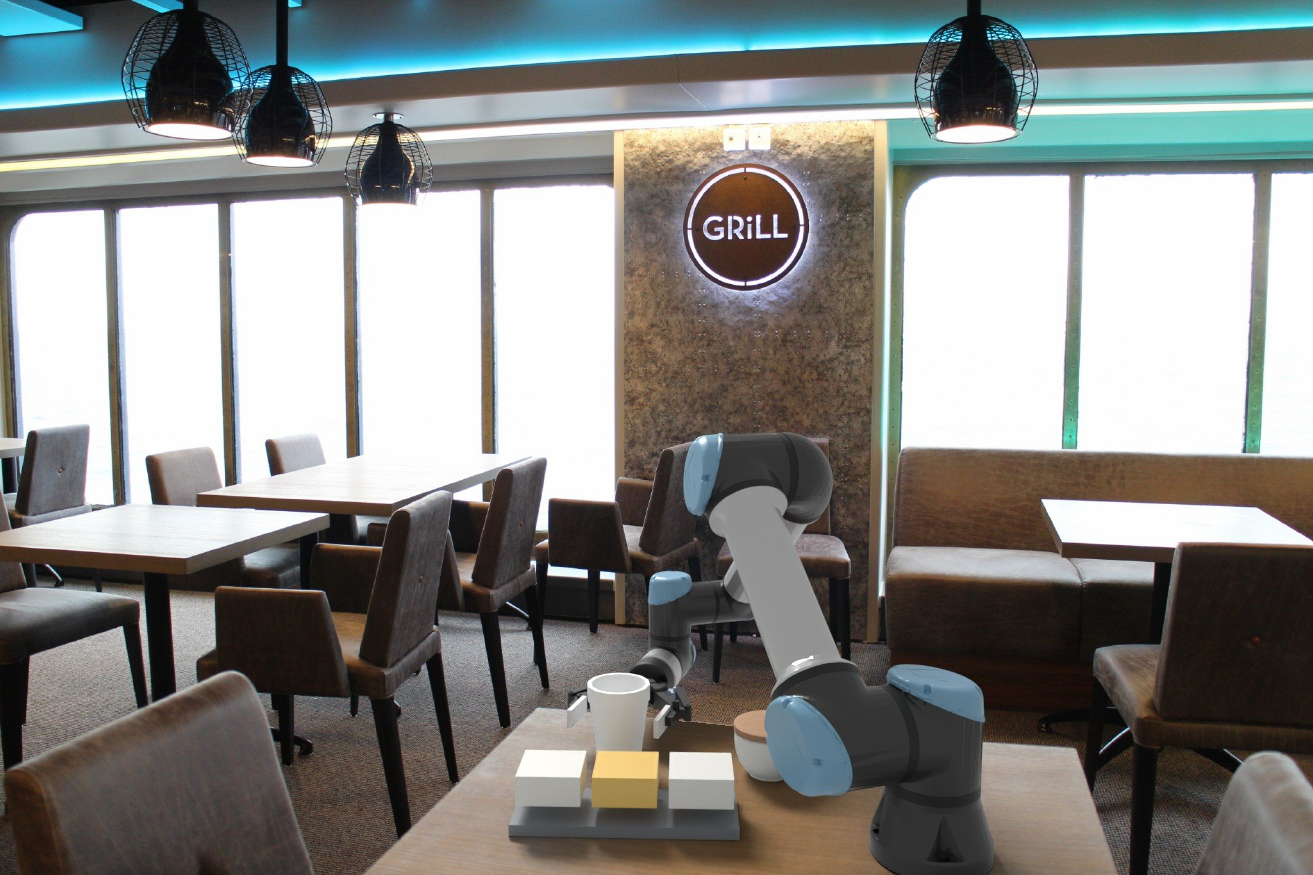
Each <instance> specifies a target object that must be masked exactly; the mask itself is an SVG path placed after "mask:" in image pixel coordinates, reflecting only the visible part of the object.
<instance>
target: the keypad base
mask: <svg viewBox="0 0 1313 875" xmlns="http://www.w3.org/2000/svg"><path fill="white" fill-rule="evenodd" d="M740 830H741V828H740V820H739V811H738V803H737V793H736V790H734V810H727V809H669V789H661V788H660V789H659V788H658V797H657V808H609V807H592V787H591V788H589V787H585V788H584V792H583V797H582V801H581V805H580V807H550V806H515V807H514V810H513V812H512V815H511V818H510V820H509V823H508V837H530V838H531V837H533V838H534V837H539V838H545V837H546V838H586V839H587V838H588V839H589V838H590V839H591V838H595V839H599V838H601V839H603V838H605V839H611V838H612V839H646V840H647V839H648V840H649V839H650V840H657V839H658V840H704V841H705V840H706V841H707V840H709V841H741V840H740V834H741V833H740V832H741V831H740Z"/></svg>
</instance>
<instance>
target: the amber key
mask: <svg viewBox="0 0 1313 875" xmlns="http://www.w3.org/2000/svg"><path fill="white" fill-rule="evenodd" d="M659 753H660V752H659V751H642V752H637V751H597V755H596V756H595V761H594V766H593V771H592V773H591V774H592V775H591V788H592V807H609V808H657V797H658V789H659V781H660V780H659V776H660V775H659V774H660V773H659V772H660V771H659V768H660V767H659V762H660V758H659V757H660V754H659Z"/></svg>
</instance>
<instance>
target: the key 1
mask: <svg viewBox="0 0 1313 875" xmlns="http://www.w3.org/2000/svg"><path fill="white" fill-rule="evenodd" d="M587 752H588V751H587V750H567V749H566V750H560V749H558V750H557V749H552V750H551V749H525V751H524V753H523V755H522V758H521V761H520V763H519V765H518V768H517V771H516V773H515V776H514V785H515V786H514V788H515V790H514V791H515V792H514V793H515V795H514V796H515V803H514V805H515V806H550V807H580V805H581V801H582V797H583V792H584V788H586V787H585V786H586V782H587V779H588V778H587V775H588V774H587V771H588V770H587V768H588V767H587V764H588V763H587V760H588V759H587V757H588V756H587Z"/></svg>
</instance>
